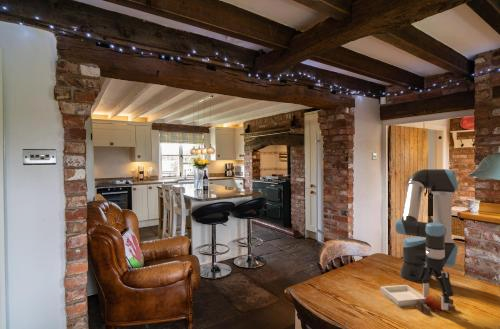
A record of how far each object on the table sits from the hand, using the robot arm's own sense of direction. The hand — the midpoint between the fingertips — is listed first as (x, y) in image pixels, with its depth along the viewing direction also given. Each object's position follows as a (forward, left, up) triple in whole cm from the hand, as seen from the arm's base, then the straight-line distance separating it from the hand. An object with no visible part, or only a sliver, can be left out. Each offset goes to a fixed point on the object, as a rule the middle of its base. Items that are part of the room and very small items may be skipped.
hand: (434, 302), depth 132 cm
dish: (+8, -12, -3) cm, 15 cm away
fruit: (0, 0, -3) cm, 3 cm away
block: (0, 0, -3) cm, 3 cm away
